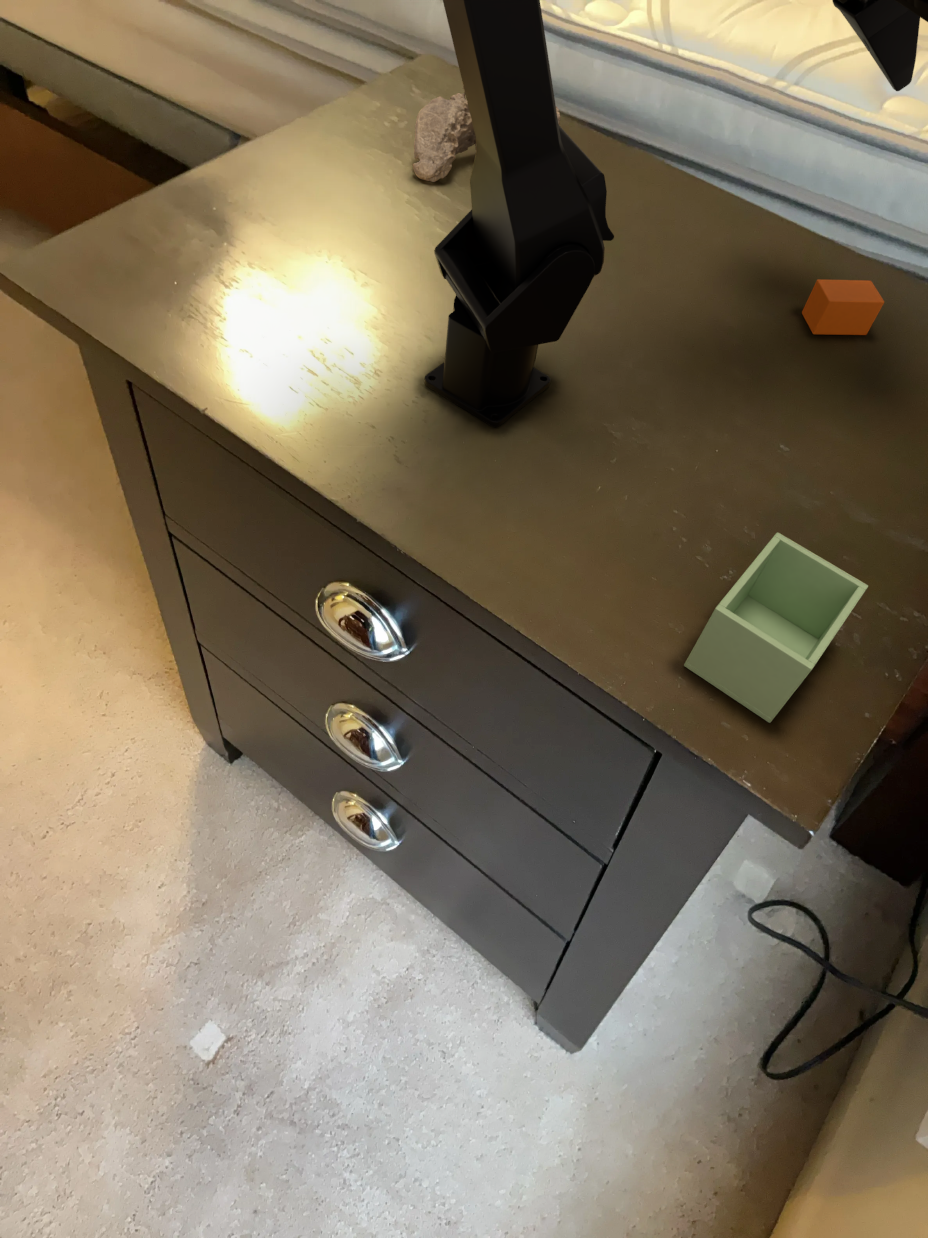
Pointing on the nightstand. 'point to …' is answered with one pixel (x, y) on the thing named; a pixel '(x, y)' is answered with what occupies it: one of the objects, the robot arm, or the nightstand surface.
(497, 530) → the nightstand surface
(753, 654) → the trash bin
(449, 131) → the rock
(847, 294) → the orange block
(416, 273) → the nightstand surface
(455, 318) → the robot arm
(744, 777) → the nightstand surface
